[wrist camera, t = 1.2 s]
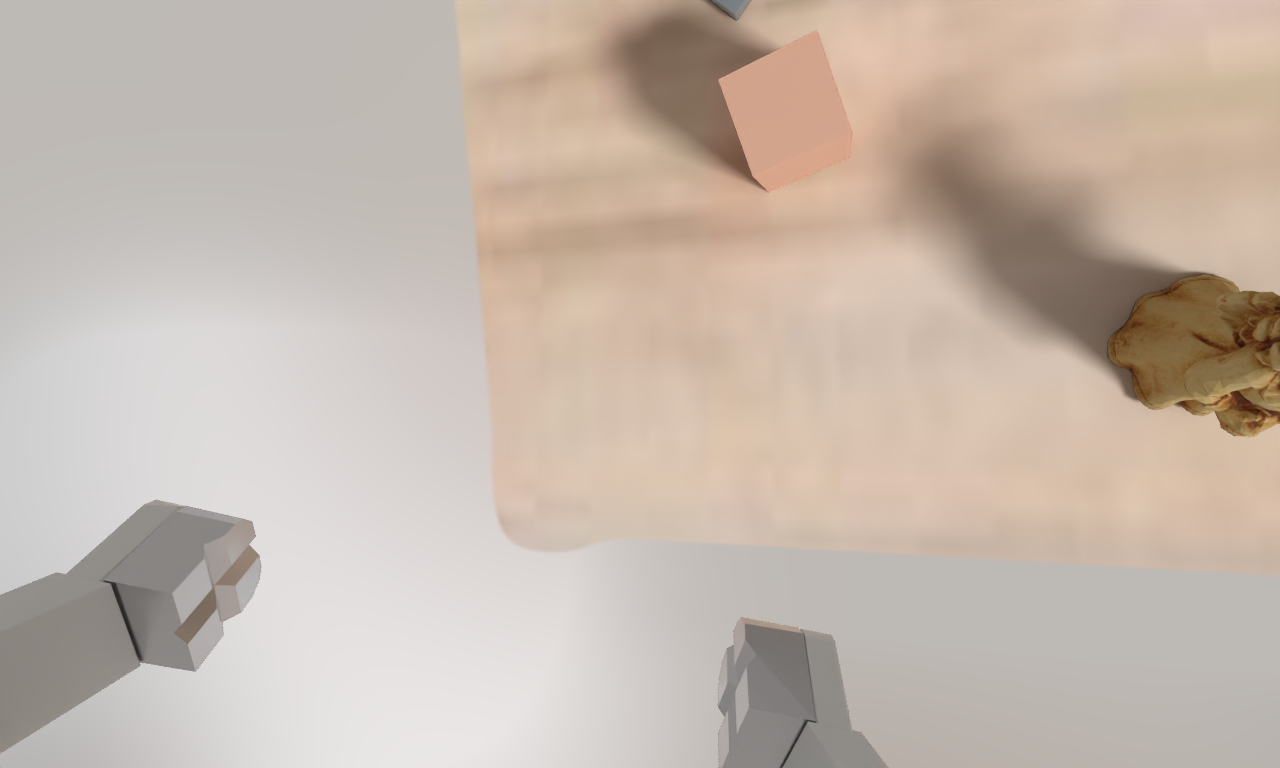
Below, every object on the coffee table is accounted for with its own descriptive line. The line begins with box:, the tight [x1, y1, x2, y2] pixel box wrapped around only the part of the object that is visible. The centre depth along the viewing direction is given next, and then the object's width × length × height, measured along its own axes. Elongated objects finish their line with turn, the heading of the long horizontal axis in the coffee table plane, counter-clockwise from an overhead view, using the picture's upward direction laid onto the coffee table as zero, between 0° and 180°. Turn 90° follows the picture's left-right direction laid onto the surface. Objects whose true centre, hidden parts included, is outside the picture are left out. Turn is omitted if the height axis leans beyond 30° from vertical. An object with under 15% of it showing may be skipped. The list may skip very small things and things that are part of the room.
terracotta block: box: [718, 30, 852, 192], centre depth 36 cm, size 5×5×8 cm
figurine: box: [1107, 274, 1280, 437], centre depth 28 cm, size 8×8×15 cm
